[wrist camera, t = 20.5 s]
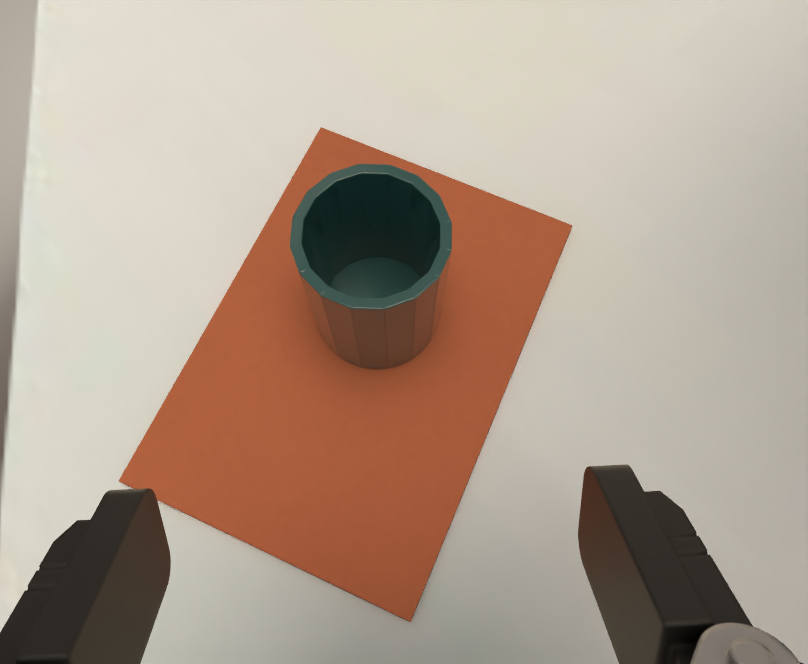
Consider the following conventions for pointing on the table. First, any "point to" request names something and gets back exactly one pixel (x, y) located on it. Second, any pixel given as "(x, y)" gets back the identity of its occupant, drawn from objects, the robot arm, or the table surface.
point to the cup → (373, 262)
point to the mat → (349, 399)
